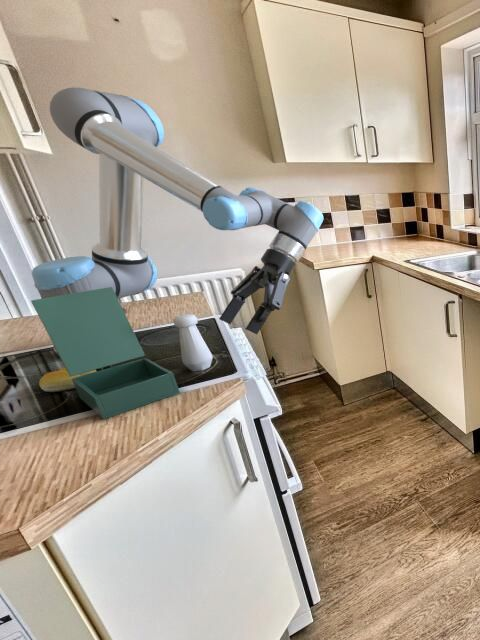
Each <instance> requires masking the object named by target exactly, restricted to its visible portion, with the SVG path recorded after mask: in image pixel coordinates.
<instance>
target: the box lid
mask: <svg viewBox="0 0 480 640" xmlns="http://www.w3.org/2000/svg"><path fill="white" fill-rule="evenodd" d="M119 300H120V299H118V298H117V296H116V294H115V292H114V290H113V288H112V287H108V288H102V289H96V290H90V291H84V292H78V293H72V294H66V295H61V296H55V297H49V298H43V299H42V298H38V299H32V300H31V301H30V302H31V304H32V306H33V308H34V309H35V312H36V314H37V315H38V319H40V322H41V323H42V325H43V327H44V330H45V331H46V333H47V335H48V337H49V339H50V341H51V342H52V345H54V346H55V348H56V350H57V352H58V354H59V356H58V357H59V358H60V360H61V362H62V364H63V367H64V366H65V368H66V370H67V372H68V373H69V375H70V377H71V376H75V375H78V374H82V373H85V372H89V371H92V370H96V371H97V370H101V369H103V368H107V367H110V366H114V365H118V364H121V363H124V362H125V363H126V362H128V361H131V360H132V361H133V360H137V359H139V358H142V357H145V356H146V354H145V352H144V349H143V348H142V346H141V344H140V342H139V339H138V337H137V336H136V334H135V331H134V329H133V327H132V325H131V322H130V321H129V319H128V317H127V315H126V313H125V310H124V311H123V309H122V307H123V306H122V304H121V302H120V301H119Z"/></svg>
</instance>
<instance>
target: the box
mask: <svg viewBox="0 0 480 640" xmlns="http://www.w3.org/2000/svg"><path fill="white" fill-rule="evenodd" d="M96 371H97V372H93V373H90V374H86V375H83V376H79V377H76V378H72V381H73V383H74V386H75V388H74V389H75V390H76V393H77V394H78V397H79V399H80V400H81V401H82V402H83V403H84V404H86V405H87V406H88V407H89V408H91V410H93V412H95V413H96V414H97V415H98V416H100V417H101V418H102V419H103V420H106V419H109V418H112V417H114V416H117V415H121V414H123V413H126V412H129V411H131V410H135V409H137V408H140V407H143V406H146V405H148V404H152V403H154V402H158V401H160V400H163V399H165V398H166V399H167V398H168V397H171V396H175V395H177V394H180V392H181V391H180V389H179V386H178V382H177V381H176V378H175V375H174V373H173V372H172V371H171V370H168V369H167V368H165V367H163V366H161V365H159V364H157V363H156V362H155V361H153V360H151V359H149V358H147V357H144V358H140V359H139V358H138V359H135V360H132V361H129V362H125V363H122V364H119V365H118V364H117V365H116V366H111V367H108V368H107V367H106V368H104V369H99V370H96Z"/></svg>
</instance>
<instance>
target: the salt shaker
mask: <svg viewBox="0 0 480 640" xmlns="http://www.w3.org/2000/svg"><path fill="white" fill-rule="evenodd" d="M172 320H173V321H172V322H173V325H174V326H175V327H176V328H178V332H179V333H178V334H179V343H180V344H179V345H180V353H181V354H180V355H181V356H180V357H181V362H182V363H183V365H184V366H185V367H186V368H187V369H188V370H189V371H192V372H199V371H204V370H206V369H209V368H211V365H212V361H213V357H214V355H213V354H212V352H211V351H210V348H209V347H208V345H207V343H206V342H205V339H204V338H203V336H202V334H201V332H200V331H199V328H198V327H197V324H198V318H197V316H196V314H193V313H182V314H179V315H176V316H174V318H173V319H172Z"/></svg>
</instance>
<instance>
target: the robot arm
mask: <svg viewBox="0 0 480 640" xmlns="http://www.w3.org/2000/svg"><path fill="white" fill-rule="evenodd" d="M49 114H50V117H51V120H52V121H53V123H54V124H55V126H56V128H58V130H59V131H60V132H61V133H62V134H63V135H64V136H65V137H67V138H68V139H69V140H70V141H72V142H73V143H75V144H77V145H78V146H79V147H82V148H84V149H85V150H86V151H88V152H90V153H92V154H95V155H98V196H99V197H98V204H99V205H98V206H99V207H98V209H99V210H98V212H99V213H98V216H99V222H98V223H99V228H98V229H99V242H98V243H96V244H94V245H93V246H92V247H91V257H90V256H83V255H82V256H81V255H78V256H69V257H65V258H64V257H63V258H59V259H58V258H57V259H54V260H50V261H49V260H48V261H46V262H43V263H40V264H38V265H36V266H35V267H33V269H32V270H31V275H32V276H31V277H32V279H33V283H34V287H35V289H37V291H38V294H39V295H40V297H41V298H40V299H43V298H49V297H55V296H61V295H66V294H72V293H78V292H84V291H90V290H96V289H102V288H108V287H112V288H113V290H114V292H115V294H116V296H117V298H118V300H120V299H123V298H126V297H130V296H136V295H139V294H141V293H143V292H145V291H146V292H147V291H148V290H150V289H152V288H153V286H154V285H155V284H156V283H157V281H158V268H157V266H156V265H154V261H153V259H151V258H150V257H149V254H148V252H147V251H146V250H145V249H144V248H143V247H142V231H143V228H142V227H143V204H144V201H143V200H144V179H146V181H149V182H151V183H152V184H154V185H156V186H157V187H159V188H161V189H163V190H164V191H165V192H168V193H169V194H170V195H173V196H175V197H176V198H178V199H180V200H181V201H183V202H184V203H186V204H187V205H190V206H191V207H193V208H195V209H196V210H198V211H200V212H201V213H202V215H203V217H204V219H205V220H206V221H207V223H208V224H209V226H211V227H212V228H214V229H216V230H218V231H238V230H241V229H246V228H251V227H257V226H263V225H265V226H268V227H269V228H272V229H274V230H277V231H278V232H277V233H276V234H275V236H274V237H273V239H272V240H271V242H270V244H269V248H267V249H266V250H265V251H264V253H263V254H262V256H261V258H260V261H261V262H262V264H263V266H262V267H259V266H258V265H255V266H254V267H253V268H252V270H251V271H250V272H249V273H248V274H247V275H246V276H245V277H244V278H243V279H242V280H241V281H240V282H239V283H238V284H237V285H236V286H235V287H234V288H232V290H231V291H230V295H231V296H232V298H231V299H230V301H229V302H228V304H227V306H226V307H225V309H224V310H223V312H222V313H221V315H220V316H219V318H218V320H220V321H222V322H224V323H227V324H228V325H231V324H232V323H233V321H234V320H235V318H236V316H237V315H238V313H239V312H240V311H241V309H242V308H243V306H244V304H245V303H246V300H247V299H248V298H249V297H251V296H252V295H253V294H254V293H256V292H257V291H259V290H260V289H264V294H263V302H260V305H259V306H258V308H257V310H256V311H255V313H254V314H253V316H252V317H251V319H250V321H249V322H248V324H247V325H246V327H245V330H247V331H248V332H251V333H253V334H255V335H258V334H259V333H260V330H261V329H262V328H263V326H264V324H265V323H266V321H267V319H268V318H269V317H270V315H271V313H272V312H274V311H275V310H276V311H279V310H280V309H281V308H282V305H283V301H284V299H285V294H286V290H287V287H288V284H289V282H290V280H291V278H292V277H291V276H290V275H291V274H292V272H294V269H295V267H296V266H297V265H296V264H297V263H298V262H299V261H300V260H301V258H302V257H303V256H304V255H303V254H304V253H305V251H306V250H307V248H308V246H309V244H311V242H312V240H313V239H314V238H315V236H316V234H317V233H318V232H319V229H320V228H321V225H322V224H323V221H324V219H325V218H324V215H323V213H322V211H320V210H319V209H318V208H317V207H316V206H314V205H313V204H311V203H309V202H307V201H303V200H299V201H298V202H297V203H295V205H292V204H289V203H287V202H285V201H283V200H281V199H279V198H277V197H275V196H273V195H272V194H269V193H268V192H266V191H264V190H262V189H261V190H260V189H258V188H256V187H254V186H253V187H252V186H249V187H246V188H245V189H243V190H241V191H240V193H239V195H237V194H235V193H233V192H231V191H229V190H228V189H226V188H224V187H223V186H221V185H220V184H218V183H216V182H215V181H213V180H212V179H210V178H209V177H206V176H205V175H203V174H201V173H200V172H198V171H197V170H195V169H193V168H192V167H190V166H188V165H187V164H185V163H183V162H182V161H181V160H179V159H177V158H176V157H174V156H172V155H171V154H169V153H167V152H165V151H164V150H162V149H160V148H158V147H159V146H160V145H162V143H163V142H164V139H165V129H164V126H163V123H162V121H161V119H160V118H159V116H158V115H157V114H156V112H155V110H153V109H152V107H150V106H149V105H148V104H147V103H145V102H143V101H141V100H139V99H136V98H134V97H133V98H132V97H131V96H126V95H123V94H117V93H112V92H106V91H99V90H95V89H94V90H93V89H90V88H84V87H67V88H63V89H60V90H59V91H57V92H56V93H55V94H54V95H53V96H52V98H51V100H50V102H49ZM122 309H123V311H124V312H125V308H124V307H123V308H122ZM52 345H53V344H52ZM52 348H53V351H54V354H55V355H56V356H57V357H60V356H59V354H58V352H57V350H56V348H55V346H54V345H53V346H52Z"/></svg>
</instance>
